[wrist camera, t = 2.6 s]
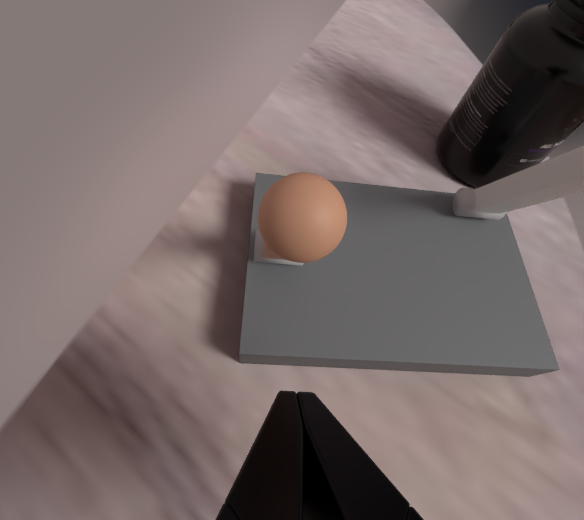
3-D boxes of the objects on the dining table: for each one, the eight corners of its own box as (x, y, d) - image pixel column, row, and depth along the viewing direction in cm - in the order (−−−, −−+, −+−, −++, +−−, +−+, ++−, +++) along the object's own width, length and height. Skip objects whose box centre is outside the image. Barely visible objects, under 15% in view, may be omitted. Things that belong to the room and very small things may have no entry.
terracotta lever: (299, 272, 18) (360, 264, 7) (253, 268, 17) (249, 255, 7) (303, 229, 18) (366, 165, 8) (256, 225, 17) (257, 153, 7)
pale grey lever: (489, 226, 21) (714, 177, 10) (451, 223, 20) (645, 169, 10) (490, 190, 21) (714, 108, 11) (453, 186, 20) (646, 98, 10)
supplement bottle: (517, 208, 24) (728, 28, 14) (425, 172, 25) (561, -28, 14) (522, 146, 27) (696, -37, 17) (441, 116, 28) (561, -80, 17)
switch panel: (529, 376, 18) (559, 369, 17) (239, 362, 17) (239, 353, 15) (482, 216, 23) (501, 198, 22) (255, 194, 22) (256, 172, 20)
